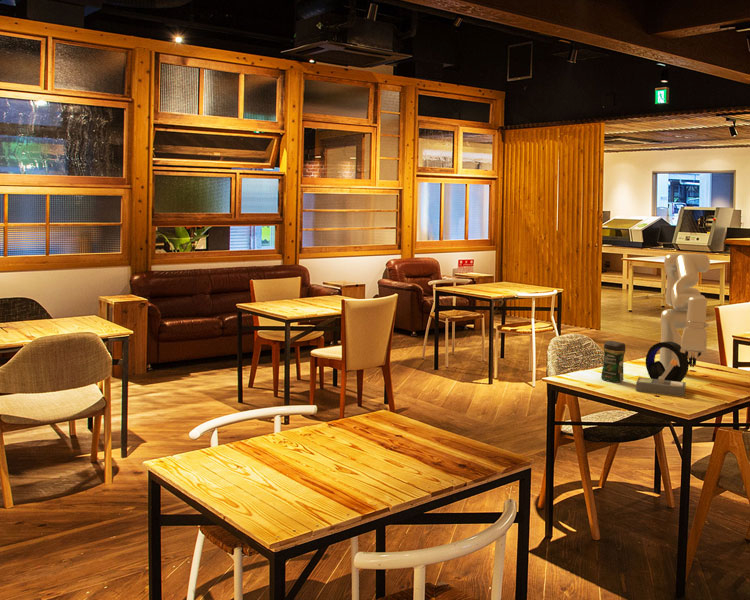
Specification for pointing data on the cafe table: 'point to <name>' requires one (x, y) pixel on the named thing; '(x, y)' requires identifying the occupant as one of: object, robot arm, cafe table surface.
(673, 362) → the lever
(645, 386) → the switch box
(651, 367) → the headphones
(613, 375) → the coffee jar
